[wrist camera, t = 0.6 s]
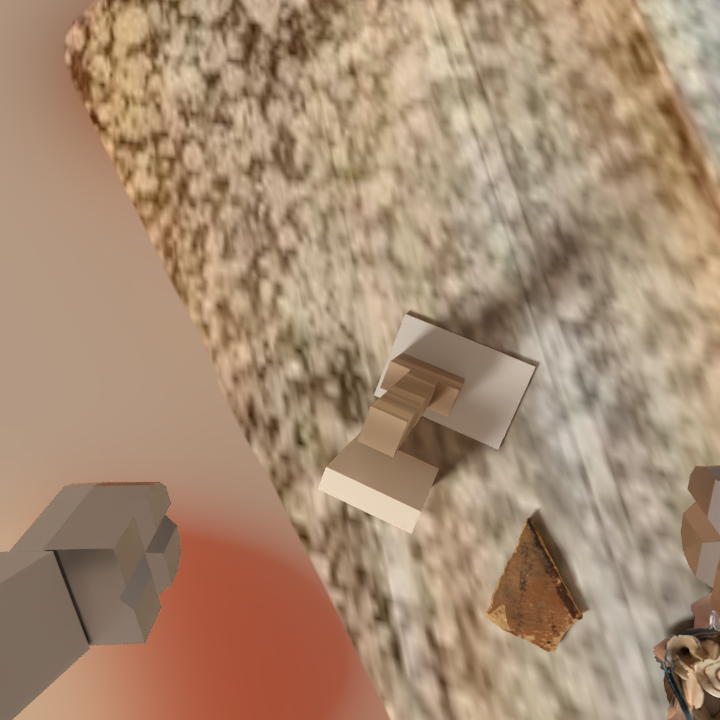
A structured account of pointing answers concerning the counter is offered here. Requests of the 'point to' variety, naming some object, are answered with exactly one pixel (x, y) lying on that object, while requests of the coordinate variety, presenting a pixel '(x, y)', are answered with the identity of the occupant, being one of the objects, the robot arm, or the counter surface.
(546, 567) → the shard
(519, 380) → the rest mat
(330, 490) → the slab tile
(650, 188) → the counter surface
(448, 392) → the stacked wooden blocks
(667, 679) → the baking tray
